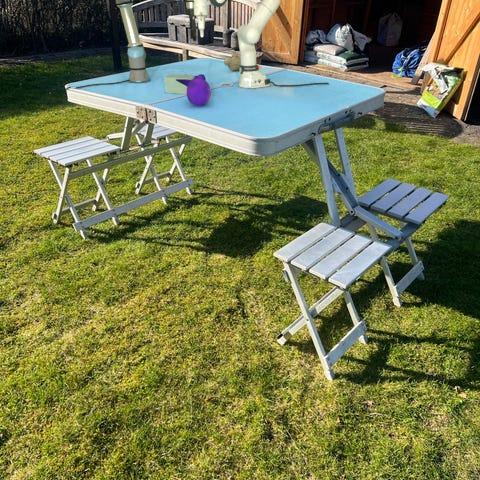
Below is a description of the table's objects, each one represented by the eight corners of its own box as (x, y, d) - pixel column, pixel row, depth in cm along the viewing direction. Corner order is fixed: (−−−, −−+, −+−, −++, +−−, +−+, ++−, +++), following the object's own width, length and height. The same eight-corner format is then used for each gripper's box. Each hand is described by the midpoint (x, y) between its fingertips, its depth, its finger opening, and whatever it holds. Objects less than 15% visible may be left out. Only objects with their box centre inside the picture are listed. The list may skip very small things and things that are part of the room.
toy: (199, 96, 289) (211, 111, 269) (173, 92, 282) (183, 107, 261) (204, 71, 281) (217, 85, 261) (177, 66, 274) (188, 79, 253)
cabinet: (199, 90, 306) (198, 75, 301) (192, 94, 297) (191, 78, 292) (173, 89, 312) (172, 73, 307) (165, 92, 303) (164, 77, 298)
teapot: (227, 73, 361) (227, 53, 353) (221, 70, 369) (220, 51, 362) (250, 70, 370) (250, 50, 362) (243, 68, 378) (242, 49, 371)
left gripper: (199, 9, 322) (200, 41, 333) (194, 7, 343) (196, 37, 354) (188, 9, 321) (190, 41, 331) (184, 7, 342) (186, 38, 352)
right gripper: (205, 13, 273) (206, 37, 280) (206, 11, 290) (207, 34, 297) (195, 13, 272) (196, 38, 279) (196, 11, 290) (197, 34, 297)
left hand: (193, 39), depth 342 cm, fingers open, 13 cm apart
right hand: (202, 36), depth 288 cm, fingers open, 8 cm apart
